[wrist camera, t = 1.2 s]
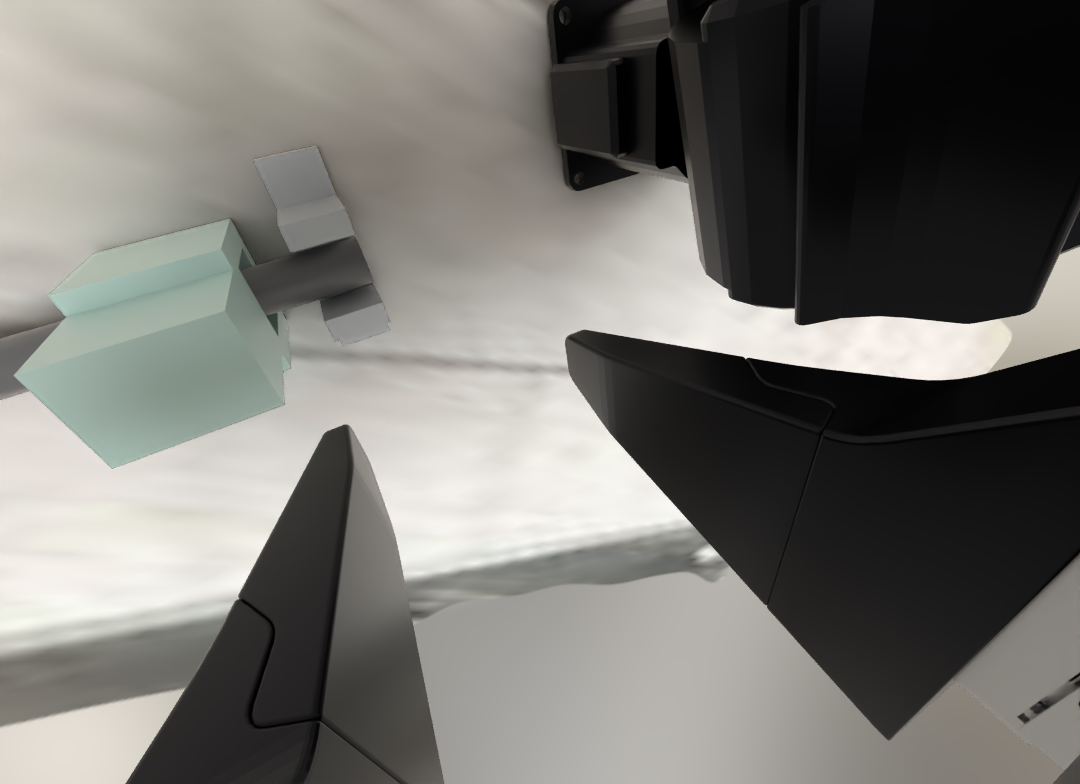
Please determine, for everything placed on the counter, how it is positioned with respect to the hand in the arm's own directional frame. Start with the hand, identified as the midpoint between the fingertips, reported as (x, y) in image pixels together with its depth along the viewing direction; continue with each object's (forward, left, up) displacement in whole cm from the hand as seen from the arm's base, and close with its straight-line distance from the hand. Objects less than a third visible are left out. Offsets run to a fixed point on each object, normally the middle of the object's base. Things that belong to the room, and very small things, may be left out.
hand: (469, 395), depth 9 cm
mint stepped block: (+6, 0, -12) cm, 13 cm away
